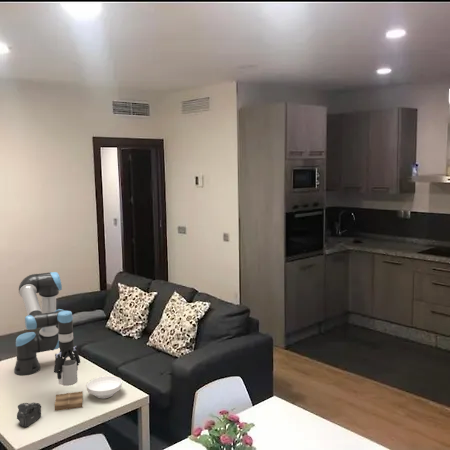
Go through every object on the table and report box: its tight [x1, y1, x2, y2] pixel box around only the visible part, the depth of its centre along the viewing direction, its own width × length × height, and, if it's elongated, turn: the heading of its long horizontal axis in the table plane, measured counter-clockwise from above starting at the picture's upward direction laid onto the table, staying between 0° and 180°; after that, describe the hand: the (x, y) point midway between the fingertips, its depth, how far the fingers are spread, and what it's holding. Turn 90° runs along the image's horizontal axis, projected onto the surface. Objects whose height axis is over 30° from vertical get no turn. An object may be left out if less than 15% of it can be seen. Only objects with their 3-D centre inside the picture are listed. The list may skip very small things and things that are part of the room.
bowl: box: [85, 375, 123, 399], centre depth 270 cm, size 20×20×7 cm
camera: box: [16, 402, 42, 428], centre depth 242 cm, size 13×10×10 cm
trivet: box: [54, 391, 84, 412], centre depth 261 cm, size 14×14×3 cm
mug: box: [62, 359, 79, 387], centre depth 260 cm, size 12×8×11 cm
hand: (68, 380), depth 260 cm, fingers closed on mug, 9 cm apart
